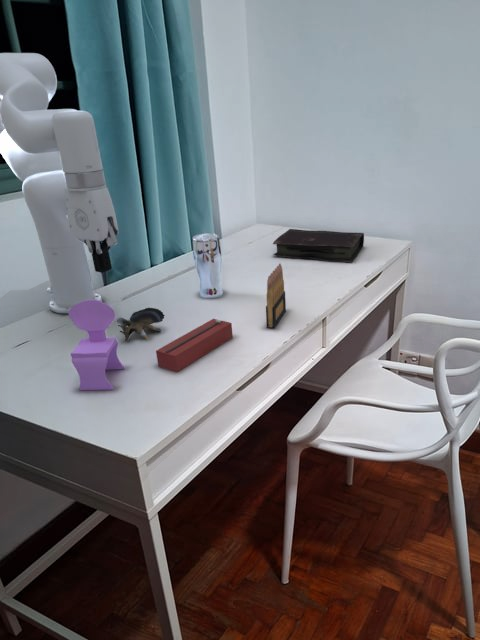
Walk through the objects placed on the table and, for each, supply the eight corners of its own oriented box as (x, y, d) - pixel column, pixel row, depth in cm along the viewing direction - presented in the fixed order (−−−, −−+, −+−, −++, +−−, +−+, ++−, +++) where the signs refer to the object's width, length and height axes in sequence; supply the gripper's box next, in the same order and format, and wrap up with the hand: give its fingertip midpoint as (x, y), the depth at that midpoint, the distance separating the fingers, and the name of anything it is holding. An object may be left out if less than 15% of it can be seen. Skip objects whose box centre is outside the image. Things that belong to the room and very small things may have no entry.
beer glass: (220, 299, 138) (214, 240, 130) (194, 298, 139) (187, 240, 131) (228, 290, 143) (223, 233, 136) (203, 289, 145) (197, 232, 137)
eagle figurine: (138, 344, 113) (171, 323, 118) (118, 315, 112) (153, 295, 116) (128, 351, 119) (159, 332, 124) (108, 324, 118) (141, 305, 123)
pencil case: (158, 366, 107) (155, 348, 105) (214, 333, 120) (213, 316, 118) (177, 372, 104) (174, 353, 102) (232, 337, 118) (231, 320, 116)
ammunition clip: (274, 328, 121) (272, 277, 115) (266, 328, 121) (264, 276, 115) (286, 311, 130) (284, 262, 124) (278, 310, 130) (276, 261, 124)
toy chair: (72, 391, 99) (53, 315, 91) (88, 368, 106) (71, 296, 99) (118, 390, 99) (102, 314, 91) (130, 368, 106) (116, 295, 99)
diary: (290, 242, 183) (290, 227, 180) (363, 246, 176) (364, 231, 173) (272, 258, 168) (271, 242, 165) (351, 263, 161) (352, 247, 158)
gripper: (45, 181, 108) (66, 270, 117) (96, 185, 101) (115, 280, 110) (75, 175, 114) (93, 261, 122) (126, 179, 106) (141, 270, 115)
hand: (103, 270), depth 116 cm, fingers closed
